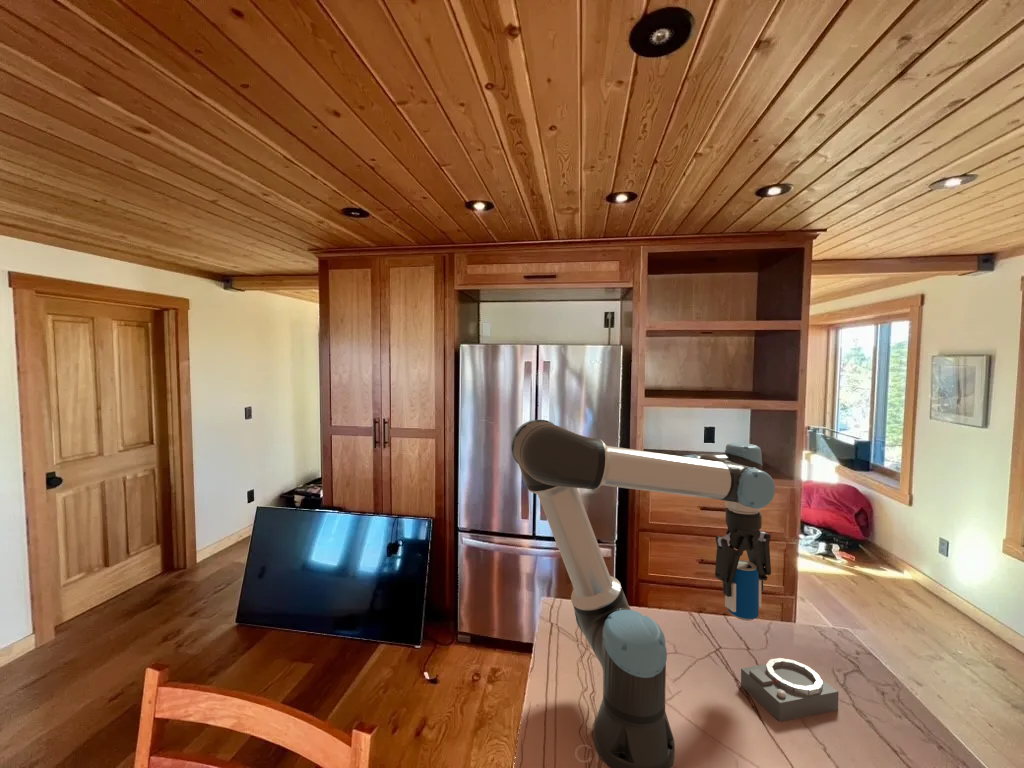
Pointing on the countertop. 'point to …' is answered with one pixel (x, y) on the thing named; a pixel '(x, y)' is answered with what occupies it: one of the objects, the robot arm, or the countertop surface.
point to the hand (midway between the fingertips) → (743, 606)
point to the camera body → (787, 693)
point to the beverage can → (746, 591)
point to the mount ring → (789, 686)
